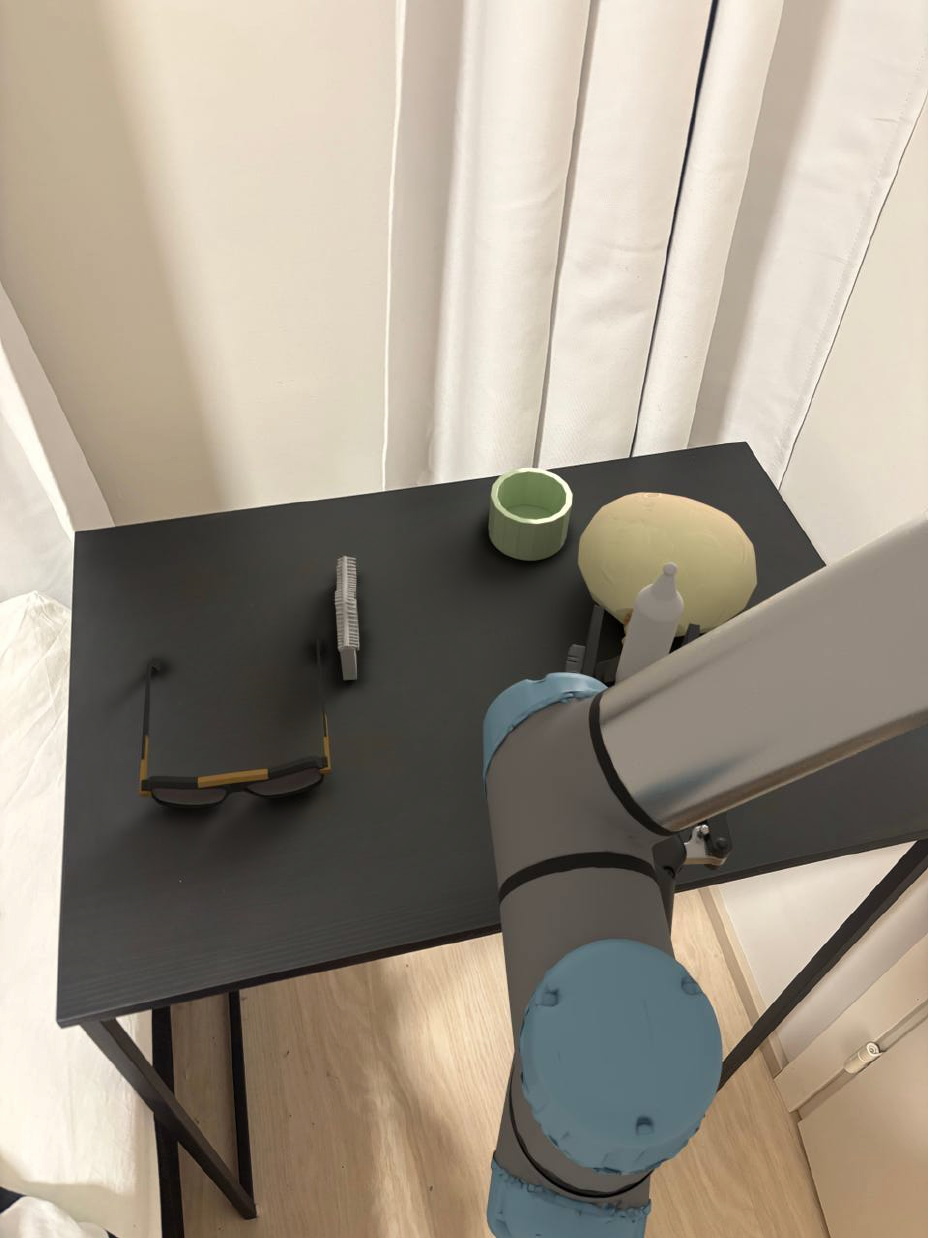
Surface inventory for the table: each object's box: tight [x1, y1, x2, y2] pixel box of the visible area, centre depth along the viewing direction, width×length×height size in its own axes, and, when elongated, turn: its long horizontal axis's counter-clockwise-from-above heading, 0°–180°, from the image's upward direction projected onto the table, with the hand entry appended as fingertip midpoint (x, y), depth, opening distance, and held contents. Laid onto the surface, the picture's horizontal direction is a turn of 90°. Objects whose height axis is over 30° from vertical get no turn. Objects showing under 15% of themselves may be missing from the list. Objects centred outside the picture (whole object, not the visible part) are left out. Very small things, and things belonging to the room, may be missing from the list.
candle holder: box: [487, 467, 573, 562], centre depth 89 cm, size 8×8×5 cm
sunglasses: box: [138, 639, 332, 810], centre depth 73 cm, size 14×15×5 cm
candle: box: [593, 562, 684, 688], centre depth 64 cm, size 5×5×25 cm
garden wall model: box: [334, 555, 360, 681], centre depth 80 cm, size 12×2×6 cm, turn 6°
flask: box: [577, 491, 758, 646], centre depth 81 cm, size 9×16×18 cm
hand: (643, 627), depth 66 cm, fingers closed on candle, 6 cm apart
